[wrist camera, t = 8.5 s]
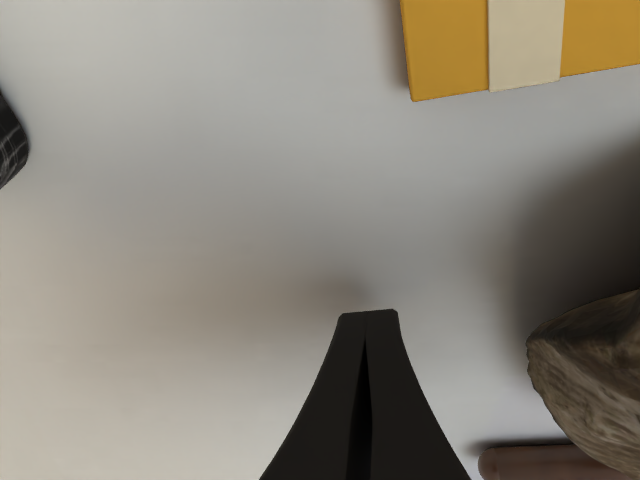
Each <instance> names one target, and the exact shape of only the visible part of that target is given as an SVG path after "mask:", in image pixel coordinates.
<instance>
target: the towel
mask: <svg viewBox="0 0 640 480" xmlns="http://www.w3.org/2000/svg"><path fill="white" fill-rule="evenodd" d="M400 8H401V17H402V26H403V35H404V44H405V54H406V63H407V72H408V81H409V89H410V95H411V100H412V101H413V102H417V101H423V100H429V99H435V98H441V97H446V96H452V95H458V94H464V93H470V92H476V91H482V90H488V89H489V92H496V91H502V90H508V89H514V88H520V87H526V86H532V85H538V84H544V83H550V82H556V81H559V78H560V77H565V76H571V75H577V74H583V73H589V72H595V71H601V70H607V69H613V68H618V67H624V66H630V65H636V64H640V0H400Z"/></svg>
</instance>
